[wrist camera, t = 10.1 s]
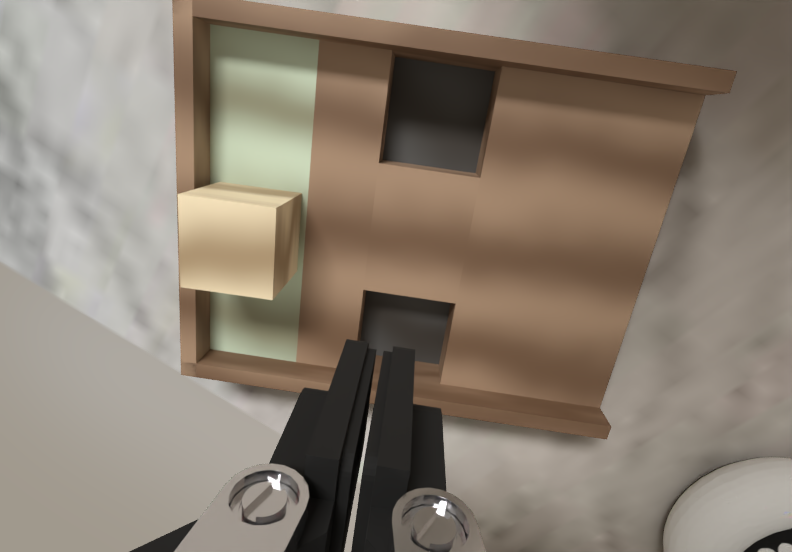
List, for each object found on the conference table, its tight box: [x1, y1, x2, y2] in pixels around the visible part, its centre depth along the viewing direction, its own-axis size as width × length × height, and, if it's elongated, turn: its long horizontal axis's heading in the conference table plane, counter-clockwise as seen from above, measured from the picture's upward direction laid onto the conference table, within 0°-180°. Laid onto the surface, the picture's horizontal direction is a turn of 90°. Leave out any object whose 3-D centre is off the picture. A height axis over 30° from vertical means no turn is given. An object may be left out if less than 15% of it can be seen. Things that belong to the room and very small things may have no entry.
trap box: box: [172, 0, 737, 439], centre depth 28 cm, size 22×28×5 cm
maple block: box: [178, 182, 302, 300], centre depth 26 cm, size 5×5×5 cm
